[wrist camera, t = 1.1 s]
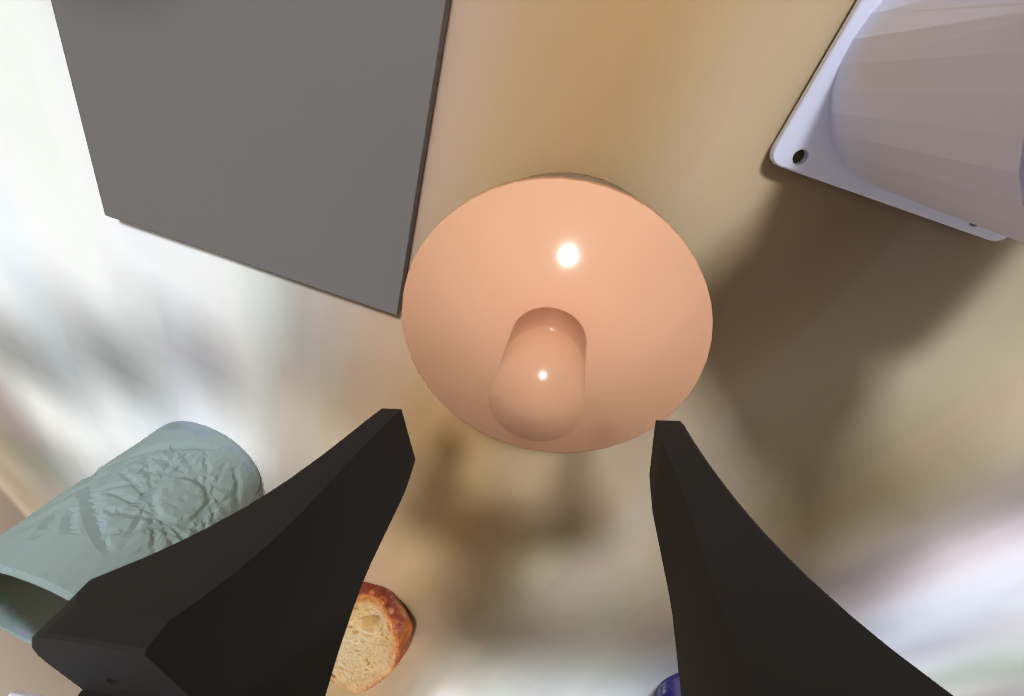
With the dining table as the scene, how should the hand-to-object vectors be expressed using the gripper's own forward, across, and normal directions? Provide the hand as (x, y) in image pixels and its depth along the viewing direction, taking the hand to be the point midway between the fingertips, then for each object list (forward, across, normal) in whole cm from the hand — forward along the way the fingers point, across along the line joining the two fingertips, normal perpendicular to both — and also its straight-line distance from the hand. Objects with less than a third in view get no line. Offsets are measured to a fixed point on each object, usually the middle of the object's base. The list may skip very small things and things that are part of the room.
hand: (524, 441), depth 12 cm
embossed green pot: (+11, +27, +14) cm, 32 cm away
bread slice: (+11, +22, +39) cm, 46 cm away
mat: (+10, +13, -8) cm, 19 cm away
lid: (+6, 0, 0) cm, 6 cm away
